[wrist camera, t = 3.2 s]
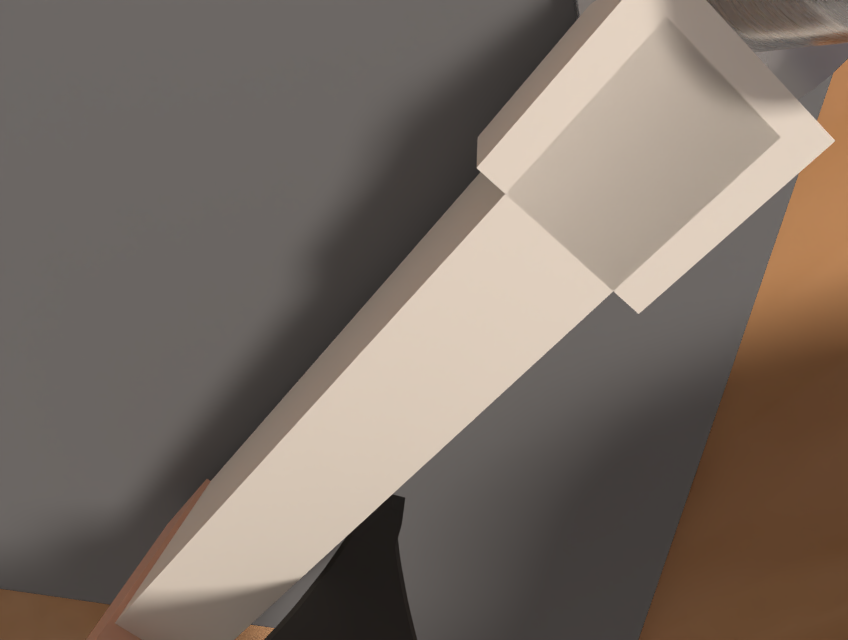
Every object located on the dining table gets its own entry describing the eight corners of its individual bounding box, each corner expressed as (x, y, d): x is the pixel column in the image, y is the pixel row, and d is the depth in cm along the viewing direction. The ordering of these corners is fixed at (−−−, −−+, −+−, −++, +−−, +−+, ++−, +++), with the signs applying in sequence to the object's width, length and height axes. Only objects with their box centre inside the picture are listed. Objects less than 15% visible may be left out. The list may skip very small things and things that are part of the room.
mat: (1036, -579, 6) (1071, -620, 6) (621, 663, 15) (625, 677, 14) (-491, -622, 7) (-542, -659, 7) (-63, 566, 16) (-76, 577, 15)
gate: (590, 4, 8) (706, -78, 4) (701, 118, 8) (909, 153, 4) (156, 516, 13) (2, 723, 9) (242, 572, 13) (135, 795, 9)
